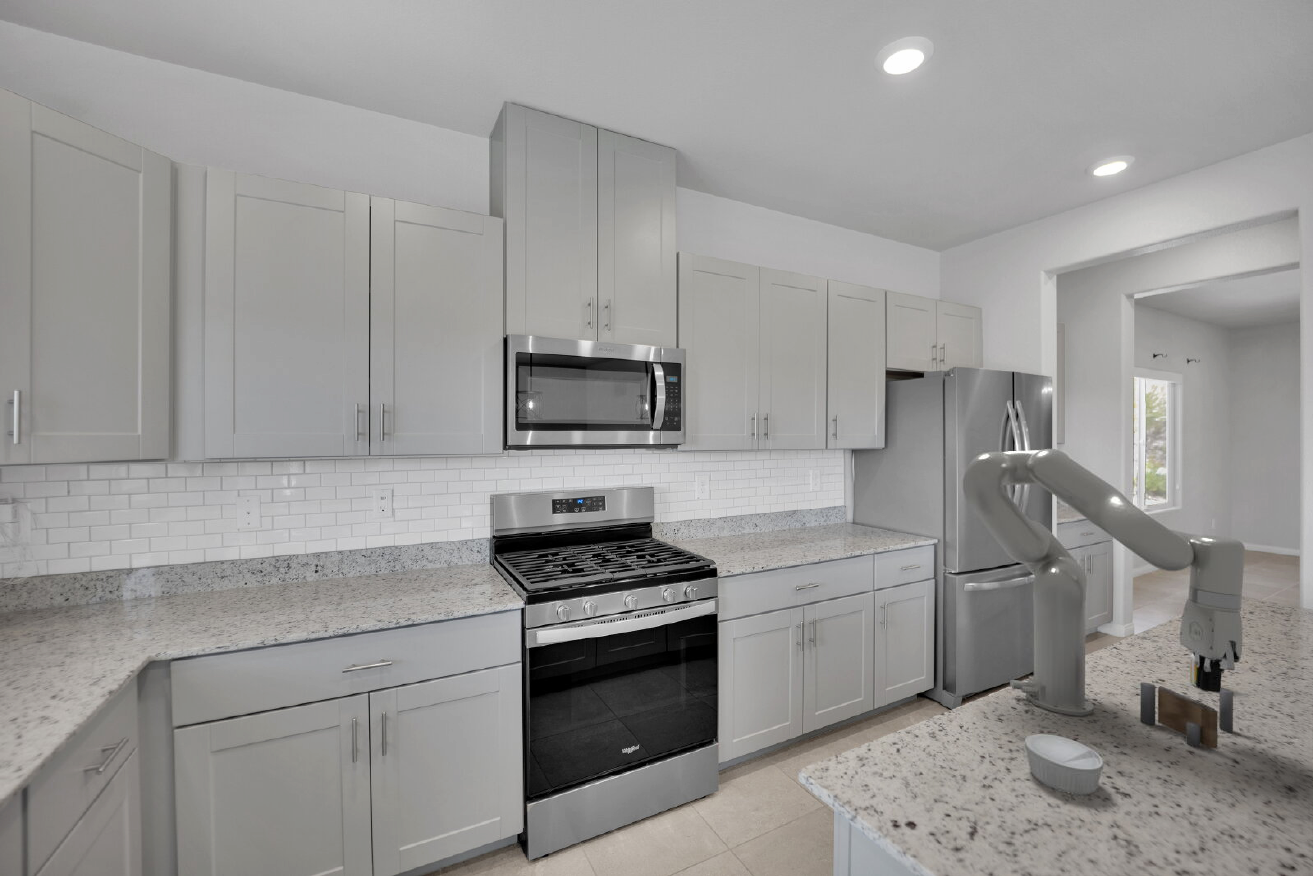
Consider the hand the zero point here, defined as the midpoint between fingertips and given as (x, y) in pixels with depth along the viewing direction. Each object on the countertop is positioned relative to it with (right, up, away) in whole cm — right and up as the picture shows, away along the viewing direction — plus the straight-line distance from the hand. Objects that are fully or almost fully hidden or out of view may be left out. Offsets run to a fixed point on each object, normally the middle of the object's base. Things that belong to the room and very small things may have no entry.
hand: (1207, 689), depth 115 cm
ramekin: (-39, -10, -14) cm, 43 cm away
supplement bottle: (+24, -11, +25) cm, 36 cm away
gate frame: (-6, -10, +2) cm, 12 cm away
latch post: (+7, -10, +4) cm, 13 cm away
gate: (-4, -9, 0) cm, 10 cm away
